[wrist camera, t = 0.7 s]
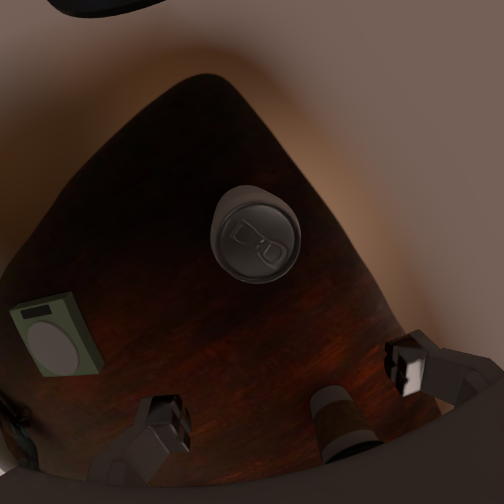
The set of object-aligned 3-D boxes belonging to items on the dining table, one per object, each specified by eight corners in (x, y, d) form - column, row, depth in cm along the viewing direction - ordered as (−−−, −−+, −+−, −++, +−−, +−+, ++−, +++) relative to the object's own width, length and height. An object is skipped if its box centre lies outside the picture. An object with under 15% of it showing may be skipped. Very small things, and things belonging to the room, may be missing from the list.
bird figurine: (-23, 386, 34) (-19, 474, 20) (-17, 366, 33) (-14, 465, 19) (28, 404, 43) (41, 487, 30) (40, 387, 42) (54, 479, 28)
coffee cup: (362, 396, 40) (400, 466, 25) (317, 424, 41) (343, 497, 26) (340, 368, 37) (382, 447, 23) (290, 400, 38) (314, 484, 24)
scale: (18, 303, 31) (6, 312, 28) (71, 290, 31) (60, 300, 28) (50, 367, 34) (41, 379, 31) (105, 362, 34) (98, 376, 31)
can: (253, 257, 32) (269, 306, 20) (202, 224, 31) (189, 257, 19) (288, 207, 31) (325, 231, 19) (238, 172, 29) (246, 173, 18)
